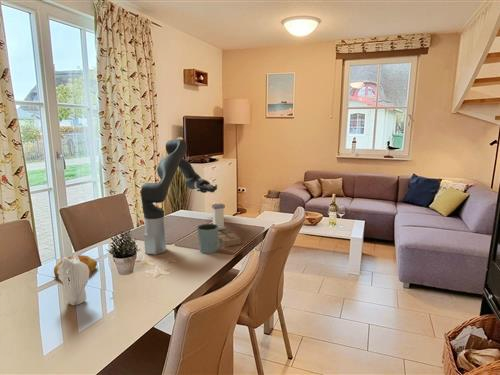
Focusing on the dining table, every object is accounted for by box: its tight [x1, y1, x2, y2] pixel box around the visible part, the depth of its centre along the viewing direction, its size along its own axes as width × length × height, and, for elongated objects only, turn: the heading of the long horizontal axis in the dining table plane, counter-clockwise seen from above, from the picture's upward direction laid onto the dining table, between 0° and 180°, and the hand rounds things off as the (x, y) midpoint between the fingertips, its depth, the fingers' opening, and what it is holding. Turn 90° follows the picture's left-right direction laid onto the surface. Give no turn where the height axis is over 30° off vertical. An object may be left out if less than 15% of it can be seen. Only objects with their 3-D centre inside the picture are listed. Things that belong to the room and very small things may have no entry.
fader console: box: [218, 227, 242, 248], centre depth 173 cm, size 22×9×3 cm, turn 28°
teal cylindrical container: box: [197, 223, 219, 255], centre depth 157 cm, size 10×10×12 cm
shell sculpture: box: [57, 252, 90, 306], centre depth 111 cm, size 8×8×18 cm
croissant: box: [53, 254, 98, 280], centre depth 133 cm, size 14×16×8 cm
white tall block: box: [211, 203, 226, 230], centre depth 178 cm, size 4×6×14 cm, turn 118°
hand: (213, 190), depth 181 cm, fingers closed
